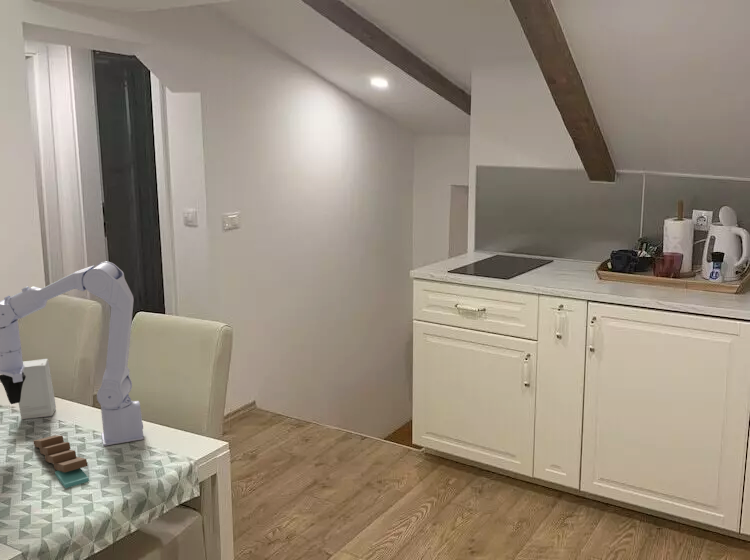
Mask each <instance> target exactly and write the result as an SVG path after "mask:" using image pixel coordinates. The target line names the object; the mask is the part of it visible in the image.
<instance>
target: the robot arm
mask: <svg viewBox="0 0 750 560" xmlns="http://www.w3.org/2000/svg"><path fill="white" fill-rule="evenodd" d="M125 278H126V277H125V273H124V271H123V270H122V269H120V268H119V266H117V265H116V264H115V263H113V262H112V261H111V262H110V261H102V262H100V263H98V264H97V265H95V264H94V265H90V266H88V267H85V268H82V269H79V270H76V271H74V272H72V273H71V274H68V275H66V276H64V277H61V278H60V279H58V280H56V281H55V282H52V283H50V284H48V285H46V286H44V287H41V288H40V287H38V286H31V287H29V285H28V286H25V287H23V288H21V291H20V292H18V293H15V294H14V295H7V296H5V297H4V298H3V299H2V300H0V382H1V384H2V386H3V388H4V391H5V393H6V396H7V399H8V402H9V403H10V404H11V405H14V404H19V402H20V399H21V390H22V386H23V383H24V380H25V378H26V375H25V374H24V373H23V370H24V368H25V367H24V364H23V361H24V360H23V352H22V350H23V349H22V344H21V343H22V342H21V335H20V329H19V321H18V320H19V319H23V318H26V317H27V316H29V315H31V314H34V313H36V312H39V311H41V310H42V309H45V308H46V306H47V303H48V301H49V300H51V299H54V298H55V297H58V296H60V295H61V296H62V295H63V294H65V293H69V292H70V291H72V290H77V291H80V292H85V291H87V292H89V293H90V294H92V295H93V296H96V297H98V298H100V299H102V300H103V301H105V302H106V304H108V305H109V306H110V318H109V328H108V329H109V330H108V341H107V350H106V361H105V363H106V364H105V369H104V373H103V376H102V380H101V385H100V388H98V390H97V393H96V399H97V403H98V404H99V405H100V411H101V412H100V413H101V422H102V432H101V439H102V445H103V446H104V447H107V446H111V445H112V446H113V445H117V444H123V443H129V442H135V441H141V440H143V439H144V431H143V430H144V424H143V423H144V422H143V420H142V417H143V416H142V408H141V402H140V400H132V399H131V396H130V395H129V393H130V392H131V390H132V388H133V383H132V379H131V376H130V371H131V370H130V369H129V367H128V364H129V355H130V354H129V353H130V344H131V332H132V322H133V321H132V320H133V312H134V311H133V310H134V294H133V293H132V291H131V289H130V286H129V285H128V283H127V280H126V279H125Z"/></svg>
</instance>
